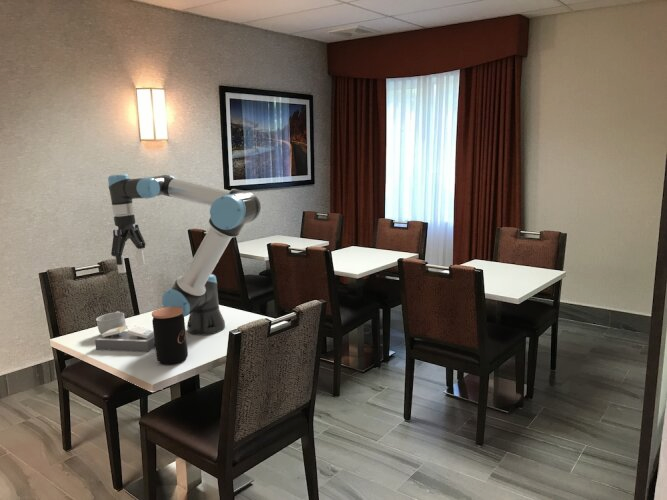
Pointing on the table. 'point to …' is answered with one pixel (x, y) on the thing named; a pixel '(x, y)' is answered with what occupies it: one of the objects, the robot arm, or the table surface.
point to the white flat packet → (140, 332)
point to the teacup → (110, 321)
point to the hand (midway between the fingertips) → (132, 268)
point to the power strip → (125, 342)
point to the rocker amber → (114, 331)
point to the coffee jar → (169, 335)
